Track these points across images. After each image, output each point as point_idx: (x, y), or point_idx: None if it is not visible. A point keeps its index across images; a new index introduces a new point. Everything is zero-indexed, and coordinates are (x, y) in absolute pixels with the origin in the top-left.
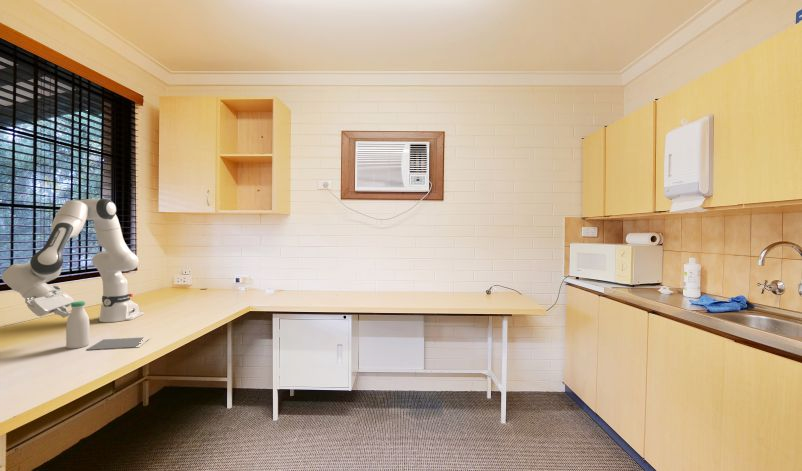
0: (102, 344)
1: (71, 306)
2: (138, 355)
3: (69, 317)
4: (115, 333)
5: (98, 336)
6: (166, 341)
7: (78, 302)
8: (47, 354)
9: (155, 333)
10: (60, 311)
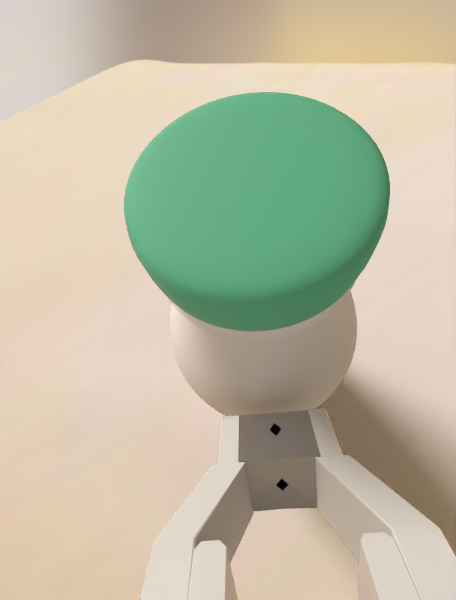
0: None
1: (313, 315)
2: (390, 80)
3: (344, 353)
4: (56, 316)
5: (91, 373)
6: (229, 81)
7: (289, 145)
8: (414, 449)
9: (109, 157)
10: (394, 502)
